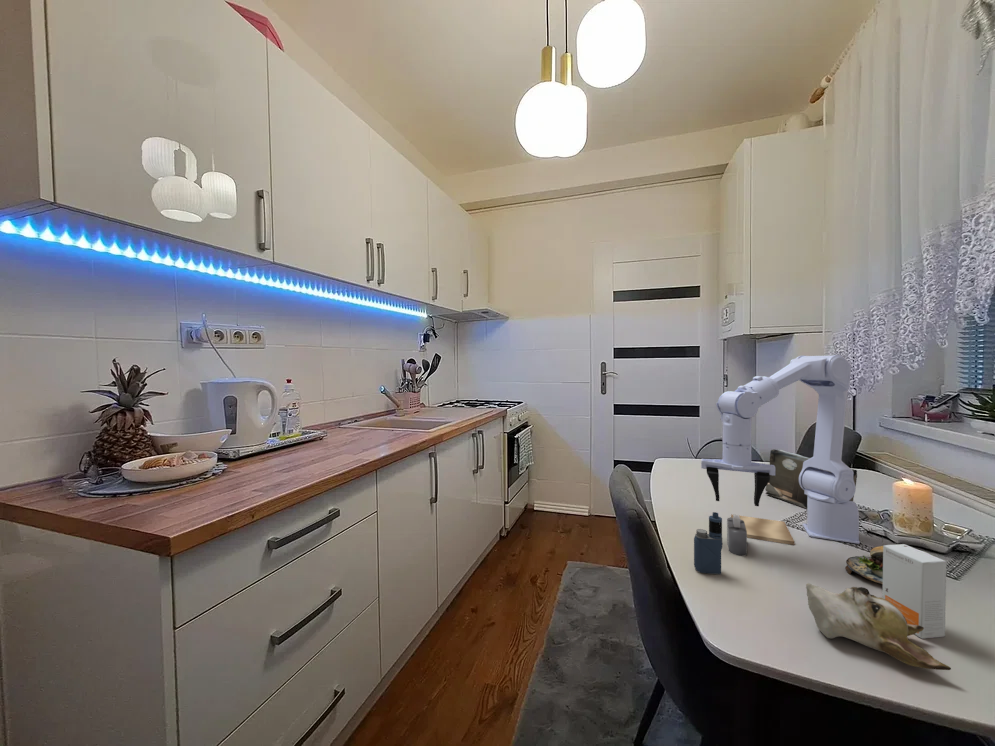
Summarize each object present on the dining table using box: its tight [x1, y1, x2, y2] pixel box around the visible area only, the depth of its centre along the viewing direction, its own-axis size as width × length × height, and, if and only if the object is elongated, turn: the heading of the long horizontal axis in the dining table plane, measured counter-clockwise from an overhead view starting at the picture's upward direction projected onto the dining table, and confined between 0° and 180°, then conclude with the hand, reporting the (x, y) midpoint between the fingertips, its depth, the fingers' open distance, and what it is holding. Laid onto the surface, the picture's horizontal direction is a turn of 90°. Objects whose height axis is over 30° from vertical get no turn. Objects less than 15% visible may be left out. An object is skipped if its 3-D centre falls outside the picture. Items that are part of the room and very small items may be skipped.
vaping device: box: [693, 511, 724, 575], centre depth 82 cm, size 3×5×12 cm, turn 78°
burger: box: [844, 536, 884, 585], centre depth 78 cm, size 12×12×8 cm
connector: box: [726, 513, 748, 557], centre depth 92 cm, size 4×10×7 cm, turn 153°
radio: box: [764, 448, 858, 510], centre depth 118 cm, size 23×9×15 cm, turn 12°
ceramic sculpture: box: [805, 582, 952, 671], centre depth 60 cm, size 11×9×15 cm
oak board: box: [730, 513, 795, 546], centre depth 101 cm, size 12×13×1 cm
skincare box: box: [881, 543, 947, 640], centre depth 64 cm, size 6×4×12 cm
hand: (736, 502), depth 92 cm, fingers open, 7 cm apart
